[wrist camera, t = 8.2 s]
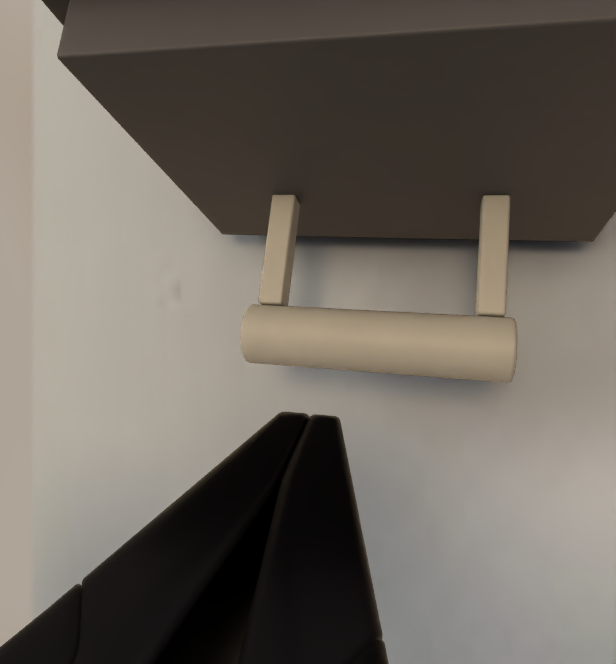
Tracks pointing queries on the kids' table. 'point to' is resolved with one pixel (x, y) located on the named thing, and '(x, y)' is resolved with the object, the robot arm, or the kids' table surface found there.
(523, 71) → the drawer
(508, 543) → the kids' table surface
